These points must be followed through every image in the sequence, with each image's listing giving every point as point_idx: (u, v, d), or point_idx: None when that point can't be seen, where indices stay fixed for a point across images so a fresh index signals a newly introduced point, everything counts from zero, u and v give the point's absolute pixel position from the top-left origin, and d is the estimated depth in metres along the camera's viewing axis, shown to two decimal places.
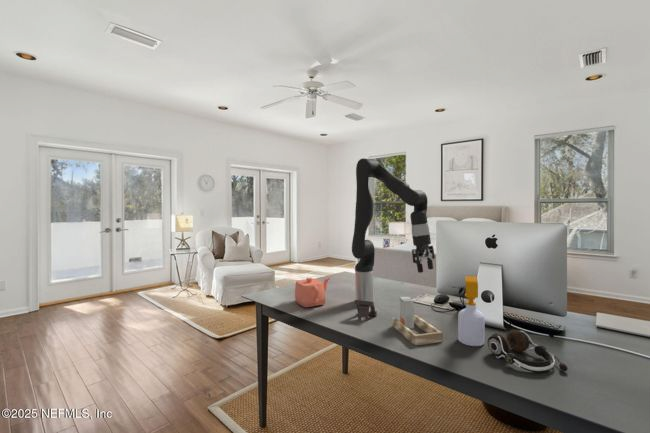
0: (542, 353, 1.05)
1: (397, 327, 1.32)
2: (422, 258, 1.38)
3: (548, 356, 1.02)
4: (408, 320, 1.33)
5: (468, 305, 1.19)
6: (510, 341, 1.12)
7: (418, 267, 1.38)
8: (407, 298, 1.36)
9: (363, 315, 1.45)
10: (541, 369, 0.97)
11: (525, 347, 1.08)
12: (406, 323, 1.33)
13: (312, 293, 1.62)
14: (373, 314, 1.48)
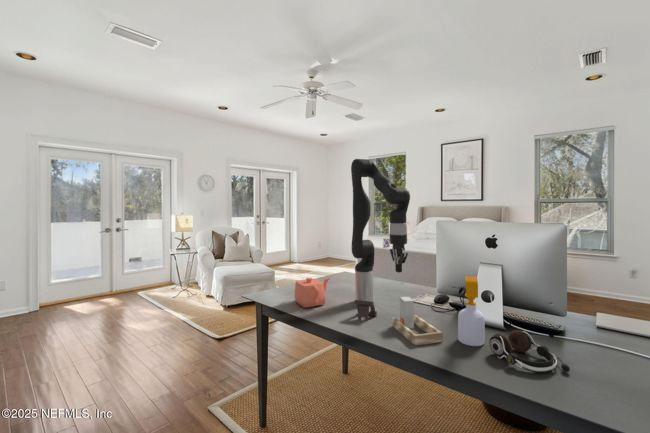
0: (544, 353, 1.05)
1: (397, 327, 1.32)
2: None
3: (550, 356, 1.02)
4: (408, 320, 1.33)
5: (468, 305, 1.19)
6: (512, 341, 1.12)
7: (400, 267, 1.40)
8: (407, 298, 1.36)
9: (363, 315, 1.45)
10: (543, 370, 0.97)
11: (527, 347, 1.08)
12: (406, 323, 1.33)
13: (312, 293, 1.62)
14: (373, 314, 1.48)
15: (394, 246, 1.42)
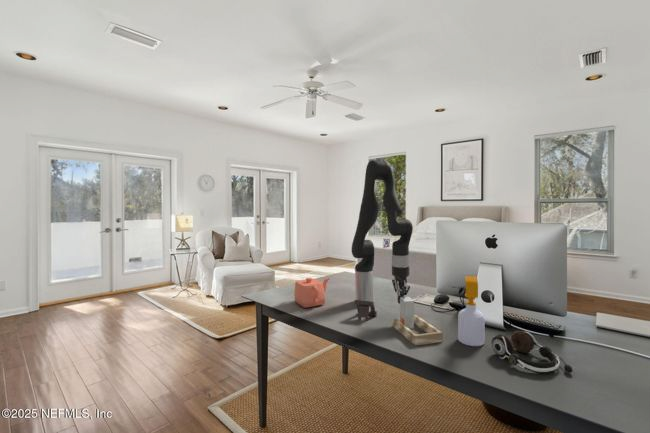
0: (547, 354, 1.04)
1: (397, 327, 1.32)
2: None
3: (553, 357, 1.01)
4: (408, 320, 1.33)
5: (468, 305, 1.19)
6: (514, 342, 1.12)
7: None
8: (407, 298, 1.35)
9: (363, 315, 1.45)
10: (545, 370, 0.96)
11: (530, 348, 1.08)
12: (407, 323, 1.33)
13: (312, 293, 1.61)
14: (373, 314, 1.48)
15: (396, 277, 1.41)
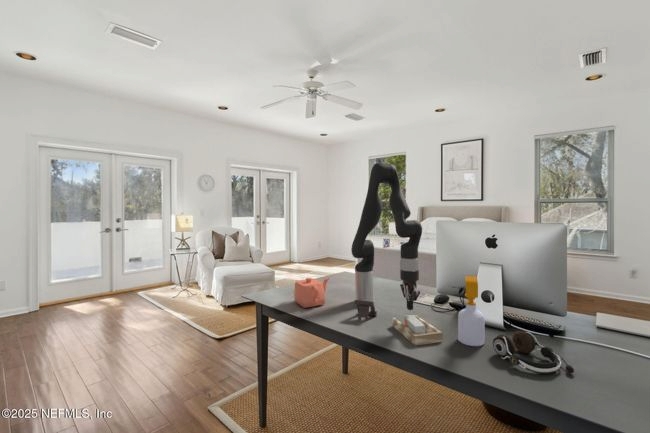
0: (548, 354, 1.04)
1: (397, 327, 1.32)
2: None
3: (554, 358, 1.01)
4: None
5: (468, 305, 1.19)
6: (516, 342, 1.11)
7: (411, 305, 1.31)
8: (421, 332, 1.21)
9: (363, 315, 1.45)
10: (547, 371, 0.96)
11: (531, 348, 1.07)
12: None
13: (312, 293, 1.61)
14: (373, 314, 1.48)
15: (405, 282, 1.34)
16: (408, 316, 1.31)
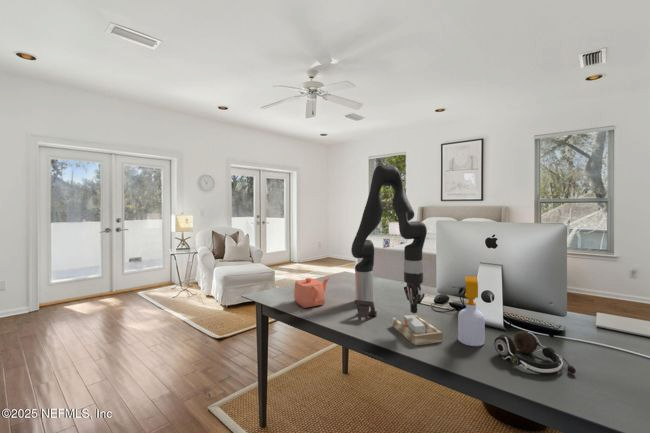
0: (550, 355, 1.04)
1: (397, 327, 1.32)
2: None
3: (556, 358, 1.01)
4: None
5: (468, 305, 1.19)
6: (517, 342, 1.11)
7: (415, 308, 1.28)
8: (421, 332, 1.21)
9: (363, 315, 1.45)
10: (548, 371, 0.96)
11: (533, 349, 1.07)
12: None
13: (311, 293, 1.61)
14: (373, 314, 1.48)
15: (409, 284, 1.31)
16: (408, 316, 1.31)
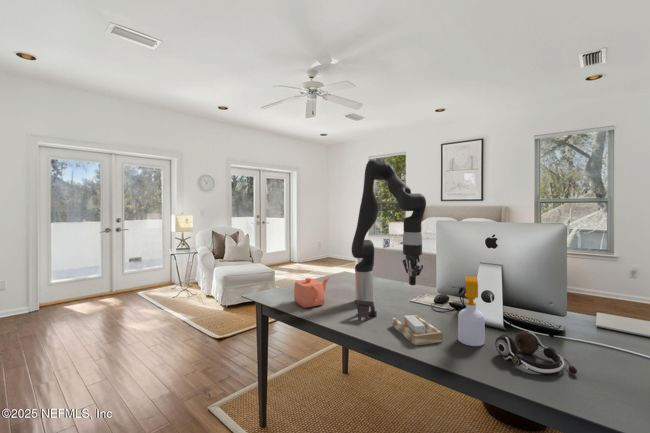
0: (551, 355, 1.03)
1: (397, 327, 1.32)
2: None
3: (557, 358, 1.01)
4: None
5: (468, 305, 1.19)
6: (519, 342, 1.11)
7: (413, 280, 1.28)
8: (421, 332, 1.21)
9: (363, 315, 1.45)
10: (549, 371, 0.96)
11: (534, 349, 1.07)
12: None
13: (311, 293, 1.61)
14: (373, 314, 1.48)
15: (407, 257, 1.31)
16: (408, 316, 1.31)
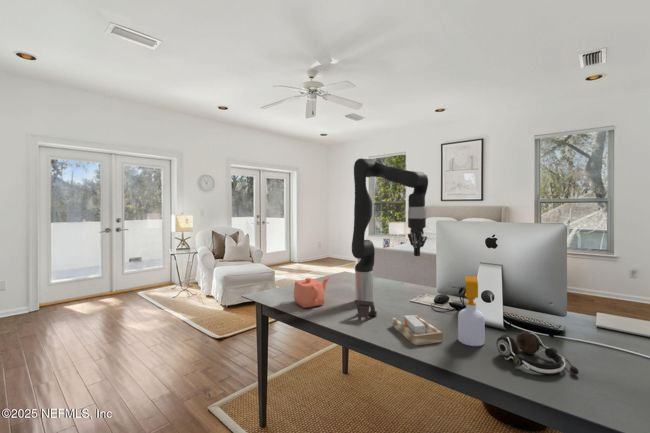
0: (553, 355, 1.03)
1: (397, 327, 1.32)
2: None
3: (559, 359, 1.00)
4: None
5: (468, 305, 1.19)
6: (520, 343, 1.11)
7: (418, 251, 1.40)
8: (421, 332, 1.21)
9: (363, 315, 1.45)
10: (551, 372, 0.95)
11: (535, 349, 1.07)
12: None
13: (311, 293, 1.61)
14: (373, 314, 1.48)
15: (412, 230, 1.42)
16: (408, 316, 1.31)
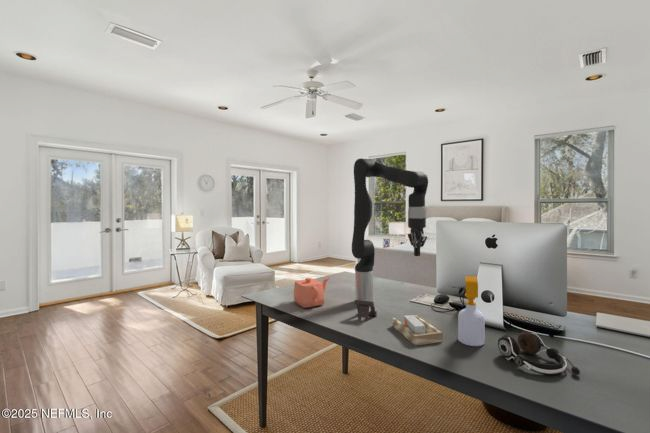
0: (554, 356, 1.03)
1: (397, 327, 1.32)
2: None
3: (560, 359, 1.00)
4: None
5: (468, 305, 1.19)
6: (521, 343, 1.11)
7: (418, 251, 1.40)
8: (421, 332, 1.21)
9: (363, 315, 1.45)
10: (552, 372, 0.95)
11: (537, 349, 1.07)
12: None
13: (311, 293, 1.61)
14: (373, 314, 1.48)
15: (412, 230, 1.42)
16: (408, 316, 1.31)
